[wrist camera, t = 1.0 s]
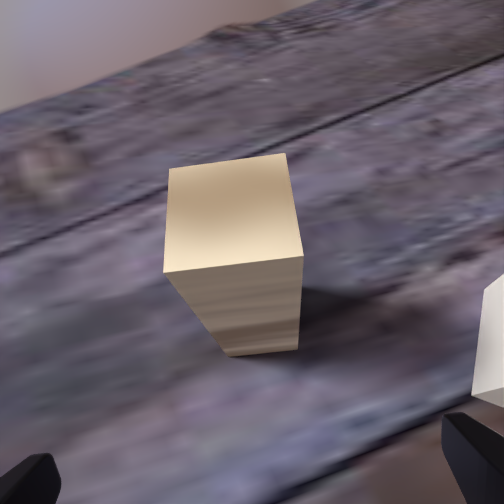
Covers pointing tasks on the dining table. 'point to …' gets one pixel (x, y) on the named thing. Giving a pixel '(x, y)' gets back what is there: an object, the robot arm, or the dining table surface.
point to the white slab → (491, 347)
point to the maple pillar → (237, 251)
